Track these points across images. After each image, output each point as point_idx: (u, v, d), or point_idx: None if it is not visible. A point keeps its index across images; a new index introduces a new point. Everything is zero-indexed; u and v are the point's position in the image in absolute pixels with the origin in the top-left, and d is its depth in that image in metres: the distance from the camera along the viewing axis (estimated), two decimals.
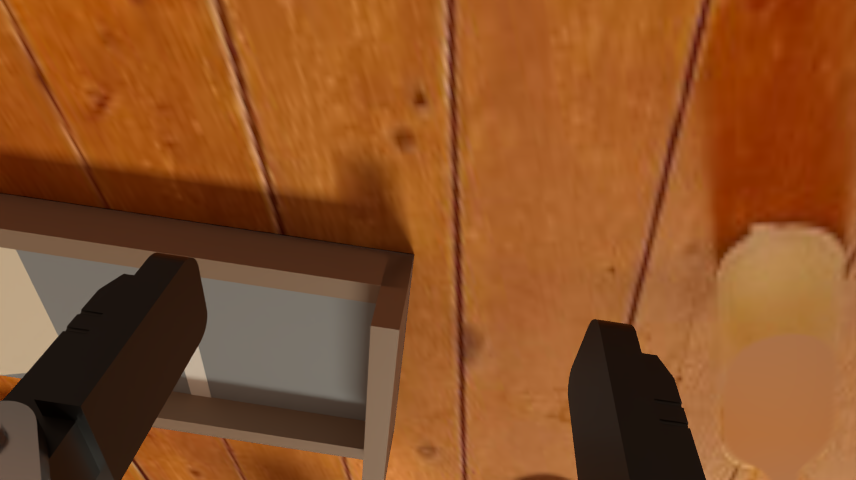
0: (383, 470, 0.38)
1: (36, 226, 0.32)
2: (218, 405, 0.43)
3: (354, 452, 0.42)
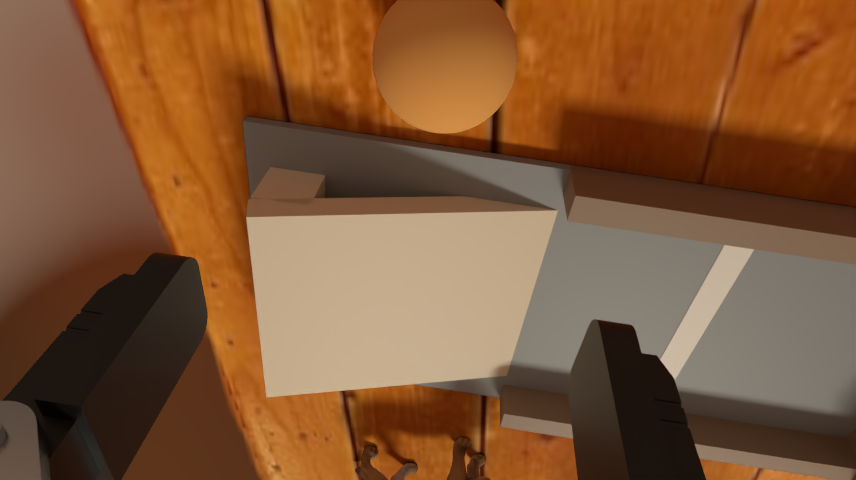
0: None
1: (656, 201, 0.27)
2: None
3: (841, 473, 0.37)
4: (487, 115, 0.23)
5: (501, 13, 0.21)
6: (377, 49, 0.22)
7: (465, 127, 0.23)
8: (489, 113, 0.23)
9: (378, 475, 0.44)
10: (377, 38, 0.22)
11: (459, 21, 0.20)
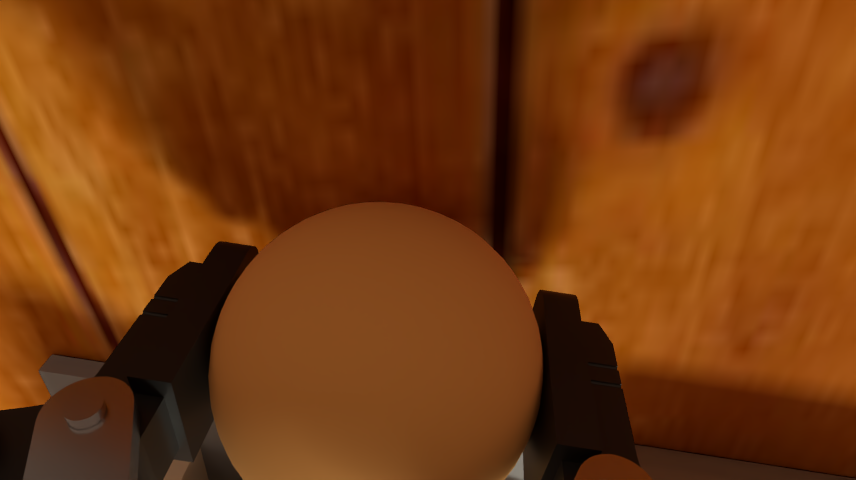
0: None
1: None
2: None
3: None
4: None
5: (506, 302, 0.09)
6: (209, 379, 0.09)
7: None
8: None
9: None
10: (211, 350, 0.09)
11: (393, 375, 0.07)
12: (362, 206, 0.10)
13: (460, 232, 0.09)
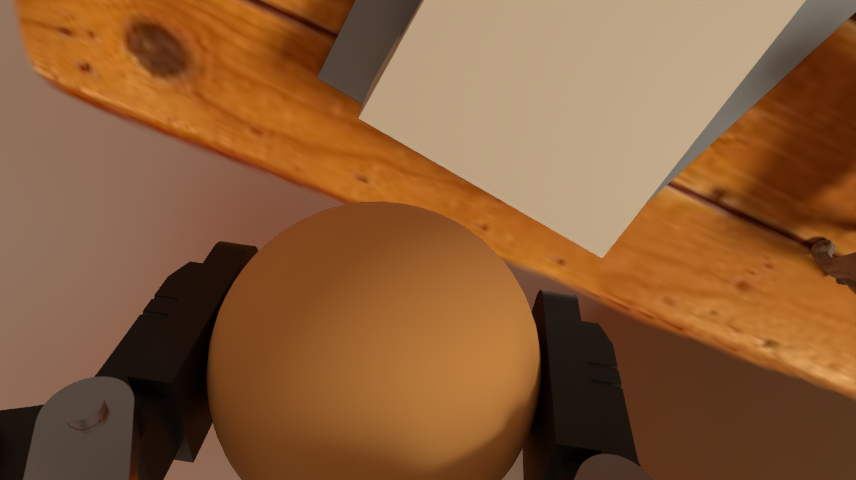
0: None
1: None
2: None
3: None
4: None
5: (504, 302, 0.09)
6: (208, 379, 0.09)
7: None
8: None
9: (849, 258, 0.30)
10: (209, 350, 0.09)
11: (390, 374, 0.07)
12: (359, 206, 0.10)
13: (457, 232, 0.09)
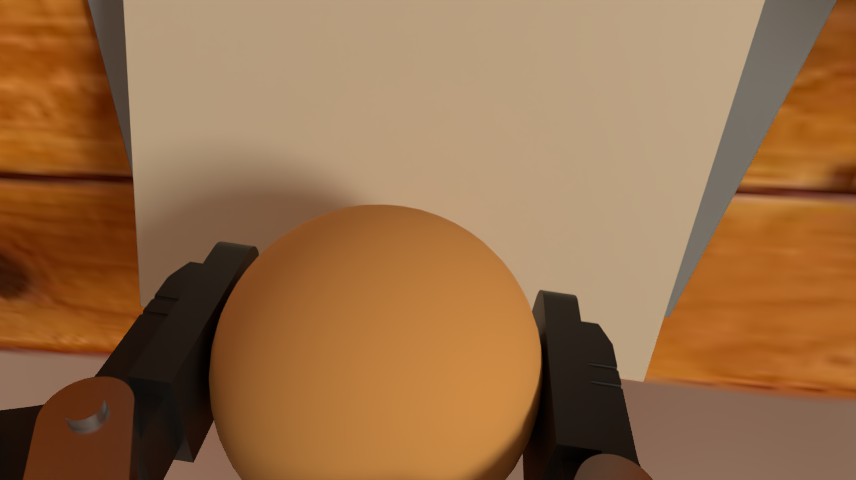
0: None
1: None
2: None
3: None
4: None
5: (506, 305, 0.09)
6: (210, 381, 0.09)
7: None
8: None
9: None
10: (212, 352, 0.09)
11: (392, 378, 0.07)
12: (362, 209, 0.10)
13: (460, 235, 0.09)
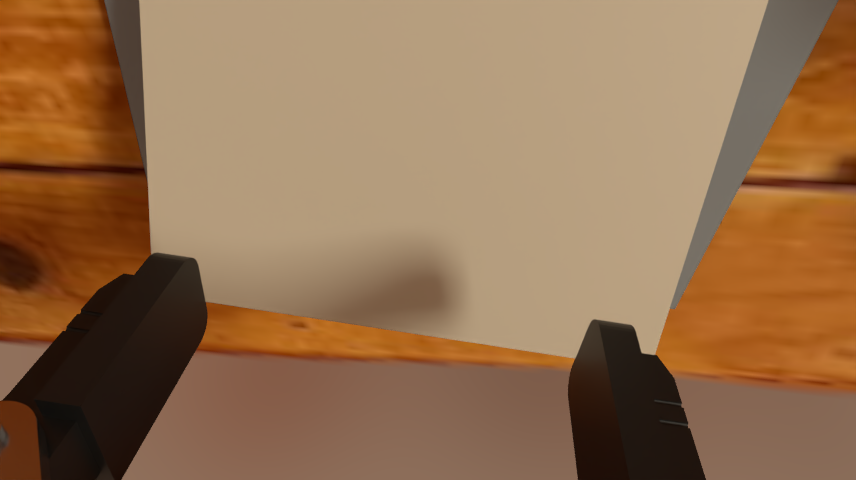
0: None
1: None
2: None
3: None
4: None
5: None
6: None
7: None
8: None
9: None
10: None
11: None
12: None
13: None
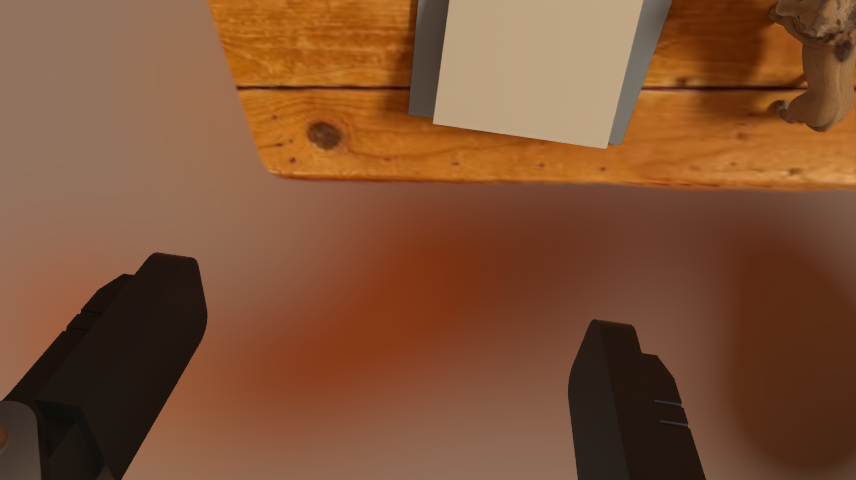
0: None
1: None
2: None
3: None
4: None
5: None
6: None
7: None
8: None
9: (788, 107, 0.43)
10: None
11: None
12: None
13: None
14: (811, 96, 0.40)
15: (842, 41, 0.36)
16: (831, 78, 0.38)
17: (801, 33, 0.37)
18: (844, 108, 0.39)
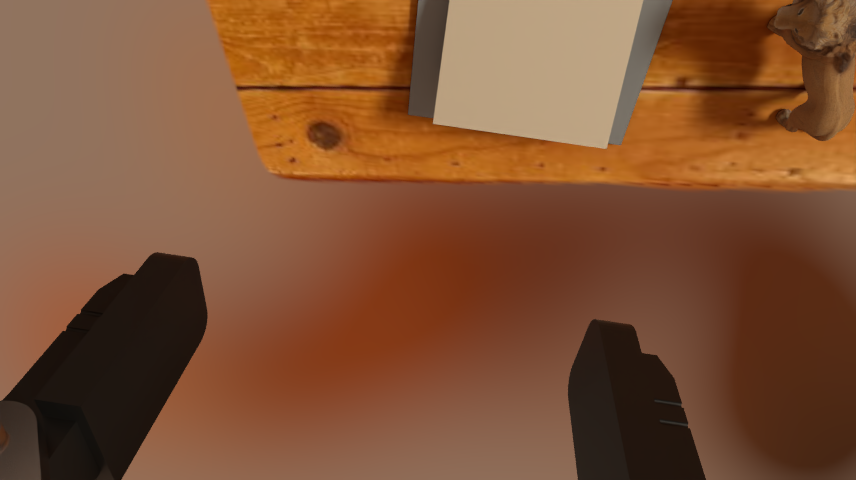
0: None
1: None
2: None
3: None
4: None
5: None
6: None
7: None
8: None
9: (789, 116, 0.44)
10: None
11: None
12: None
13: None
14: (811, 106, 0.41)
15: (841, 54, 0.36)
16: (830, 89, 0.39)
17: (800, 45, 0.38)
18: (844, 118, 0.39)
